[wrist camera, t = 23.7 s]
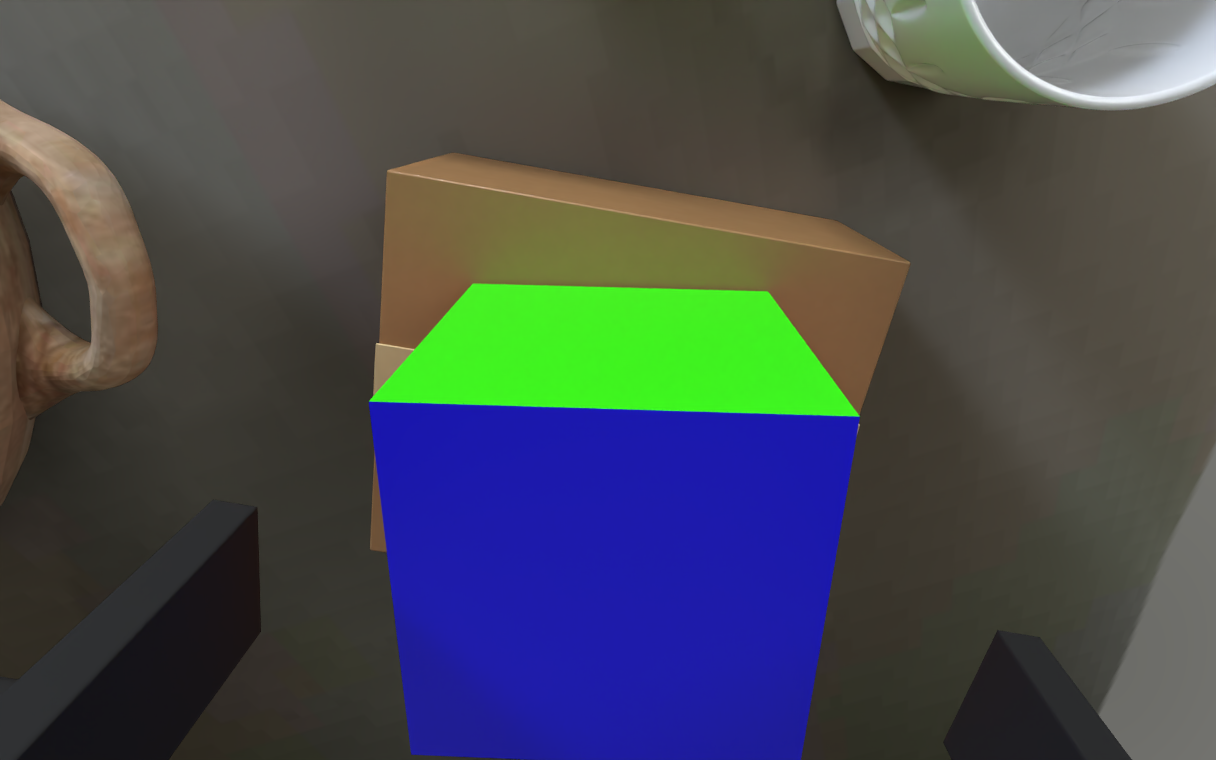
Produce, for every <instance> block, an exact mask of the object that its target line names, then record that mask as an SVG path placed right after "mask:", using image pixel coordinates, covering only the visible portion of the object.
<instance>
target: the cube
mask: <svg viewBox="0 0 1216 760" xmlns="http://www.w3.org/2000/svg"><path fill="white" fill-rule="evenodd" d="M369 408H370V417H371V425H372V433H373V441H374V450H375V458H376V466H377V474H378V483H379V491H380V499H381V508H382V516H383V524H384V532H385V541H386V549H387V557H388V566H389V574H390V582H391V590H392V599H393V607H394V615H395V624H396V632H397V640H398V648H399V657H400V665H401V673H402V682H403V690H404V698H405V706H406V715H407V723H408V731H409V739H410V748H411V755H433V756H457V757H481V758H505V759H529V760H801V755H802V750H803V744H804V738H805V732H806V726H807V721H808V715H809V709H810V703H811V697H812V692H813V686H814V680H815V674H816V668H817V663H818V657H819V651H820V645H821V639H822V634H823V628H824V622H825V616H826V610H827V604H828V599H829V593H830V587H831V581H832V575H833V570H834V564H835V558H836V552H837V546H838V541H839V535H840V529H841V523H842V517H843V512H844V506H845V500H846V494H847V488H848V482H849V477H850V471H851V465H852V459H853V453H854V448H855V442H856V436H857V430H858V424H859V419H860V416H859V415H858V413H857V412H856V411H855V409H854V408H853V406H852V405H851V404H850V402H849V401H848V400H847V398H846V397H845V396H844V394H843V393H842V391H841V390H840V389H839V387H838V386H837V385H836V383H835V382H834V381H833V379H832V378H831V376H830V375H829V374H828V372H827V371H826V370H825V368H824V367H823V366H822V364H821V363H820V361H819V360H818V359H817V357H816V356H815V355H814V353H813V352H812V351H811V349H810V348H809V346H808V345H807V344H806V342H805V341H804V340H803V338H802V337H801V336H800V334H799V333H798V331H797V330H796V329H795V327H794V326H793V325H792V323H791V322H790V321H789V319H788V318H787V316H786V315H785V314H784V312H783V311H782V310H781V308H780V307H779V306H778V304H777V303H776V301H775V300H774V299H773V297H772V296H771V295H770V293H769V292H768V291H734V290H697V289H660V288H622V287H585V286H547V285H510V284H472V285H471V286H470V287H469V288H468V290H467V291H466V292H465V293H464V294H463V295H462V296H461V298H460V299H459V300H458V301H457V302H456V303H455V304H454V305H453V307H452V308H451V309H450V310H449V311H448V312H447V313H446V315H445V316H444V317H443V318H442V319H441V320H440V321H439V322H438V324H437V325H436V326H435V327H434V328H433V329H432V330H431V332H430V333H429V334H428V335H427V336H426V337H425V338H424V339H423V341H422V342H421V343H420V344H419V345H418V346H417V347H416V348H415V350H414V351H413V352H412V353H411V354H410V355H409V356H408V358H407V359H406V360H405V361H404V362H403V363H402V364H401V365H400V367H399V368H398V369H397V370H396V371H395V372H394V373H393V375H392V376H391V377H390V378H389V379H388V380H387V381H386V382H385V384H384V385H383V386H382V387H381V388H380V389H379V390H378V392H377V393H376V394H375V395H374V396H373V397H372V398H371V399H370V401H369Z"/></svg>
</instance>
